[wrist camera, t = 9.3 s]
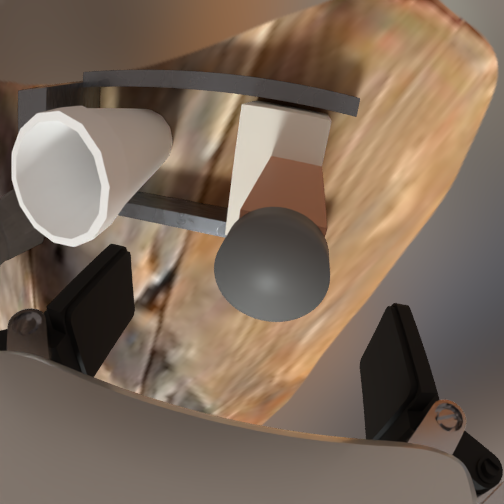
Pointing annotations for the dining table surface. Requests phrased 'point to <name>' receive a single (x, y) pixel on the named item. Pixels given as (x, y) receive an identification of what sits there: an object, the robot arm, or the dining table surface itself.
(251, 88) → the grey frame
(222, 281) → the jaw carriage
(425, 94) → the dining table surface
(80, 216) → the foam cup
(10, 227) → the coffeepot
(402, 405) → the robot arm
